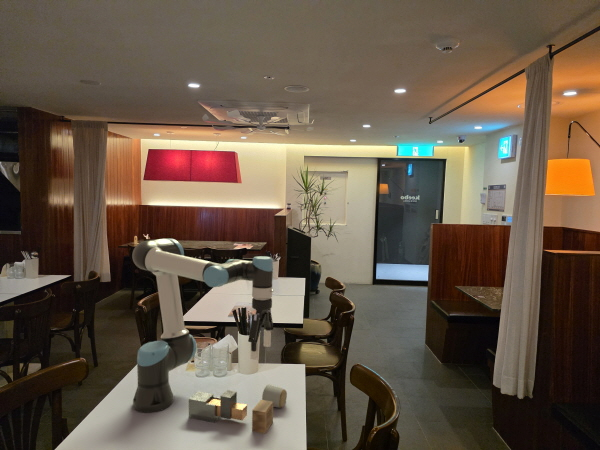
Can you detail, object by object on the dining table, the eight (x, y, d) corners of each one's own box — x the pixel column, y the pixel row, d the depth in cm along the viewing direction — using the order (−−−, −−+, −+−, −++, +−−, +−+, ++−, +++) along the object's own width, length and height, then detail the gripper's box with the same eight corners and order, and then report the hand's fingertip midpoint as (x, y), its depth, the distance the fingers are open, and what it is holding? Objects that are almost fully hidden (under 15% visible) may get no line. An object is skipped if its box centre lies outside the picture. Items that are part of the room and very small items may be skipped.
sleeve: (188, 417, 155) (188, 398, 155) (197, 409, 161) (197, 391, 161) (214, 422, 152) (214, 403, 152) (222, 414, 158) (222, 395, 158)
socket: (252, 431, 147) (252, 410, 146) (260, 419, 154) (261, 399, 154) (264, 433, 145) (265, 412, 145) (272, 422, 153) (273, 401, 153)
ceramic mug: (280, 411, 161) (281, 392, 160) (261, 408, 163) (261, 388, 163) (290, 399, 171) (290, 381, 170) (271, 396, 173) (272, 378, 173)
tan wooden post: (192, 412, 155) (192, 391, 155) (199, 405, 160) (199, 385, 160) (241, 421, 149) (241, 399, 149) (247, 414, 154) (247, 393, 154)
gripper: (259, 306, 144) (258, 366, 146) (281, 291, 168) (280, 342, 170) (239, 304, 146) (238, 363, 148) (264, 289, 170) (263, 340, 172)
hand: (260, 352), depth 159 cm, fingers open, 13 cm apart
